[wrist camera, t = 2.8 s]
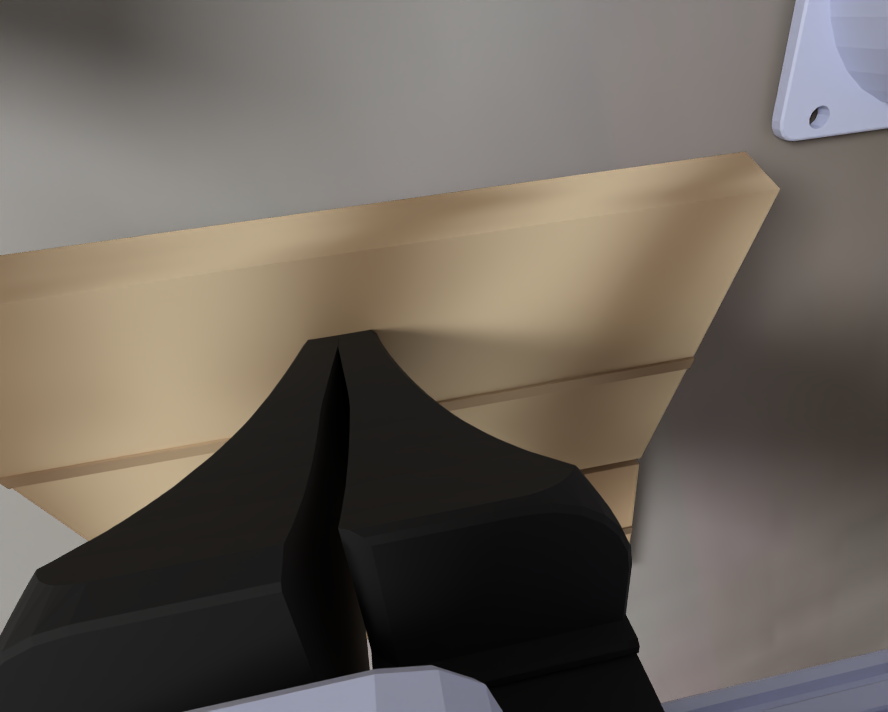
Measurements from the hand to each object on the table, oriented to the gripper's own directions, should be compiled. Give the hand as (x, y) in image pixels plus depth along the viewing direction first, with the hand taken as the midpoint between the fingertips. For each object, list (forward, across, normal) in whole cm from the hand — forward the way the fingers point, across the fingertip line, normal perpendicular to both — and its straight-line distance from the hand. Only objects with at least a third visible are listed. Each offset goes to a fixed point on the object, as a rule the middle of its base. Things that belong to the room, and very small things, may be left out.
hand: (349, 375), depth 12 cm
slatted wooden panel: (+2, 0, +1) cm, 2 cm away
